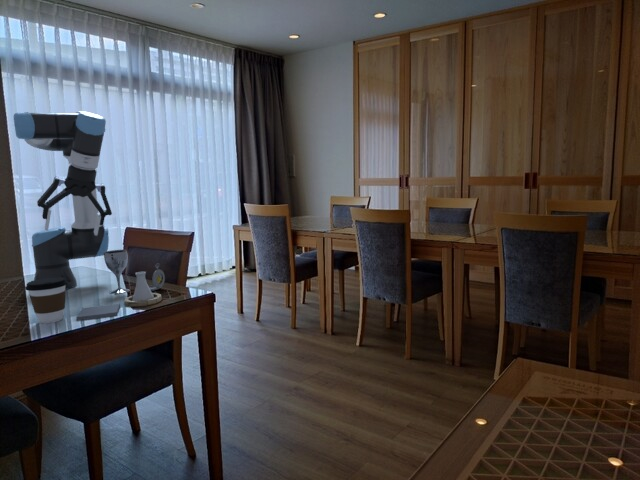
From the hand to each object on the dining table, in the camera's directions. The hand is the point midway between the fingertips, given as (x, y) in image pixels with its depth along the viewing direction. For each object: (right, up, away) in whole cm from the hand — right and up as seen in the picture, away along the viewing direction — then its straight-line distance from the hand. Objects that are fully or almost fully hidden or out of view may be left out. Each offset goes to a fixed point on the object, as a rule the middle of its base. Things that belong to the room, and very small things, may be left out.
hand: (71, 231), depth 146 cm
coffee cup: (-3, -27, -5) cm, 27 cm away
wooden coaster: (+18, -23, +12) cm, 32 cm away
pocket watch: (+15, -21, +28) cm, 39 cm away
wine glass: (+3, -22, +29) cm, 36 cm away
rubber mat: (+9, -25, 0) cm, 27 cm away
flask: (+18, -24, +12) cm, 32 cm away
